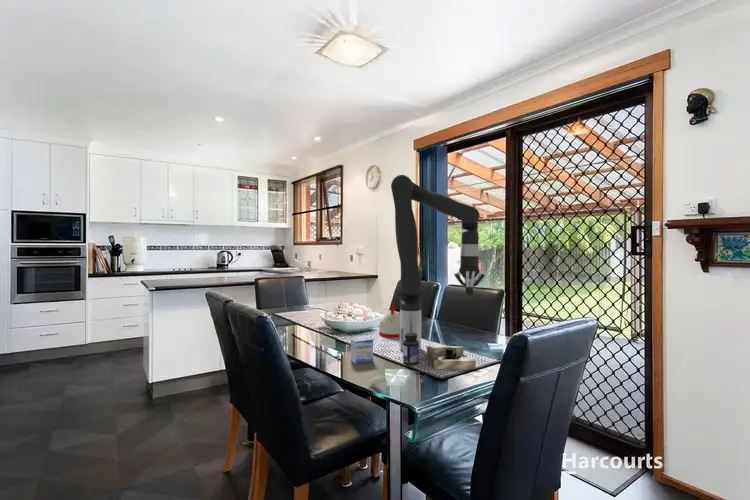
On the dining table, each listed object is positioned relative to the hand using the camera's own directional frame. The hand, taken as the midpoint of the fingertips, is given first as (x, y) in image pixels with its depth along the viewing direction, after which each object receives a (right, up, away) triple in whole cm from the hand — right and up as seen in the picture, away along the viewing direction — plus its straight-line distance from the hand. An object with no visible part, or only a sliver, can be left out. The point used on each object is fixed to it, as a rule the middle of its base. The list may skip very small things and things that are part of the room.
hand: (468, 295), depth 160 cm
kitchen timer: (-31, -24, +32) cm, 50 cm away
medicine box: (-45, -24, -12) cm, 52 cm away
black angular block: (-9, -25, -8) cm, 28 cm away
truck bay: (-10, -24, -11) cm, 29 cm away
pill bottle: (-26, -25, -13) cm, 38 cm away
